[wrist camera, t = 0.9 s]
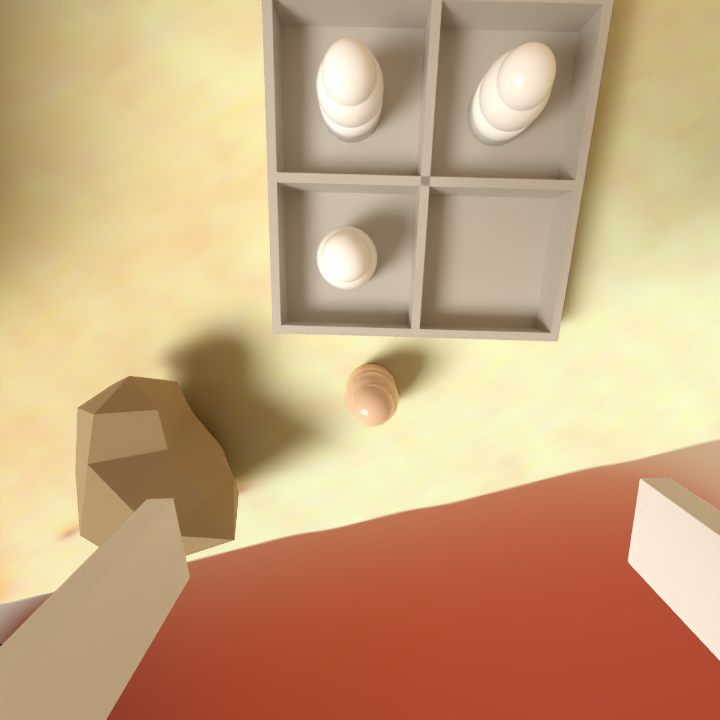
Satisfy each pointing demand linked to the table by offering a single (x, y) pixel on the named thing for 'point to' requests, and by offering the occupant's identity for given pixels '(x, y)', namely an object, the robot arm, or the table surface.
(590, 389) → the table surface
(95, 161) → the table surface
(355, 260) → the white egg
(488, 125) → the white egg
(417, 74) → the carton
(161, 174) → the table surface
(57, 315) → the table surface
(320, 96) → the white egg
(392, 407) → the brown egg
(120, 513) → the low-poly potato
